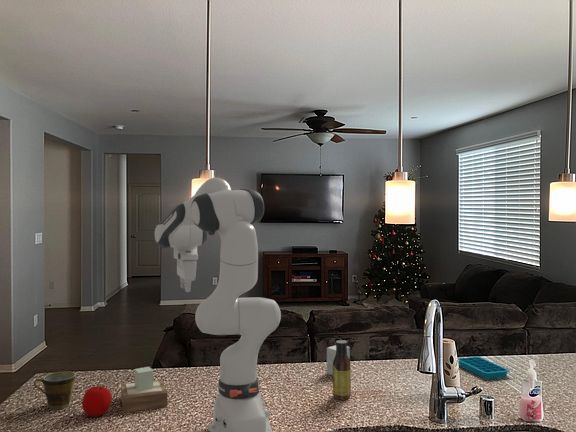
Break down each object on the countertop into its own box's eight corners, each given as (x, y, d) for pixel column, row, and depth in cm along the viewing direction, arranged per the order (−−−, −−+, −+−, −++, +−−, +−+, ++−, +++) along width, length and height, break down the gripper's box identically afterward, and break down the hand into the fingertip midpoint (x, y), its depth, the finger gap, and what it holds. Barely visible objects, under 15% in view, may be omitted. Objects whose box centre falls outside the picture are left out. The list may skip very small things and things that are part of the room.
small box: (339, 369, 208) (339, 343, 208) (350, 372, 204) (350, 346, 204) (326, 373, 203) (326, 347, 203) (336, 376, 199) (336, 350, 199)
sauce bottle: (336, 392, 182) (336, 337, 181) (353, 395, 179) (353, 339, 179) (329, 399, 176) (330, 342, 175) (346, 402, 173) (347, 344, 173)
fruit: (115, 415, 161) (114, 384, 161) (84, 422, 157) (84, 390, 156) (108, 406, 169) (108, 376, 169) (79, 412, 164) (79, 381, 164)
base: (167, 406, 169) (167, 391, 169) (123, 412, 164) (123, 397, 164) (161, 392, 182) (161, 378, 182) (120, 397, 177) (120, 383, 177)
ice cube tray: (478, 363, 218) (478, 356, 218) (511, 378, 199) (511, 370, 198) (454, 365, 215) (455, 358, 215) (485, 381, 195) (486, 373, 195)
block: (153, 388, 172) (153, 370, 172) (138, 390, 169) (138, 373, 169) (149, 383, 176) (149, 366, 176) (134, 386, 174) (134, 369, 174)
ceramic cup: (79, 399, 175) (78, 370, 175) (71, 410, 165) (71, 380, 165) (38, 401, 173) (38, 372, 173) (29, 413, 163) (28, 382, 163)
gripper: (172, 251, 201) (172, 286, 201) (181, 256, 182) (181, 294, 182) (188, 251, 203) (188, 285, 203) (199, 255, 184) (199, 293, 184)
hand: (185, 289), depth 193 cm, fingers open, 8 cm apart
